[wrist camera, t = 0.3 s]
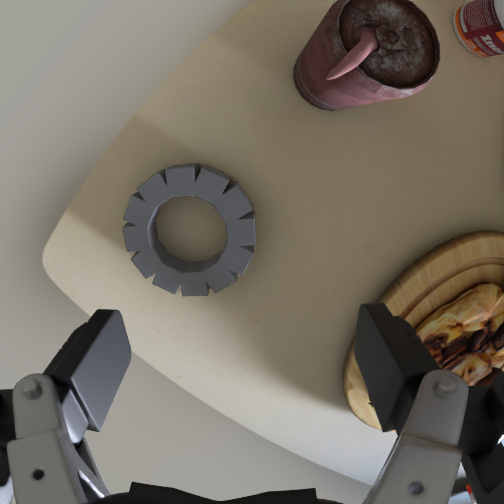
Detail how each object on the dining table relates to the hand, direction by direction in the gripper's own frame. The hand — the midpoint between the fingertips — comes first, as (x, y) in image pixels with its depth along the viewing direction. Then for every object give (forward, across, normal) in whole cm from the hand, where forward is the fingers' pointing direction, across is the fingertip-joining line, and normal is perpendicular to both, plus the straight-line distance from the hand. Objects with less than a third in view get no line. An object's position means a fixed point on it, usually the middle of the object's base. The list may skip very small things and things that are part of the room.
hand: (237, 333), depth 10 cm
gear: (+19, +5, +2) cm, 20 cm away
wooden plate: (+19, -26, +18) cm, 37 cm away
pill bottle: (+19, -24, -20) cm, 37 cm away
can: (+19, -7, -11) cm, 23 cm away
